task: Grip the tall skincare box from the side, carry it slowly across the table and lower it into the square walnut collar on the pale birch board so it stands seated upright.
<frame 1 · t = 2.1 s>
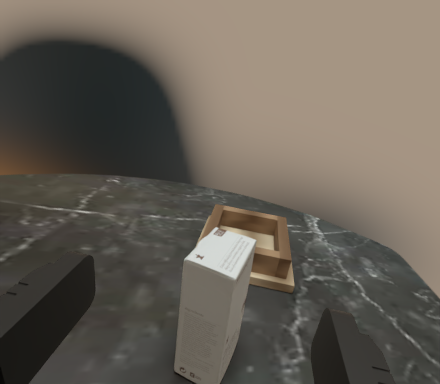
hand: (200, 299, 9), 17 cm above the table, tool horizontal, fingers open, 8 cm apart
socket board: (243, 251, 43), on the table
skincare box: (206, 355, 27), on the table
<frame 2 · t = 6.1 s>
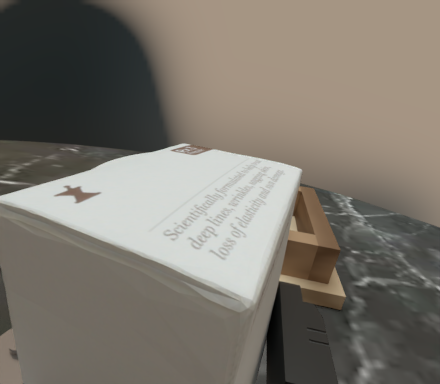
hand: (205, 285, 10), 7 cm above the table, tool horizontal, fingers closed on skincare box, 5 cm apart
socket board: (249, 239, 27), on the table
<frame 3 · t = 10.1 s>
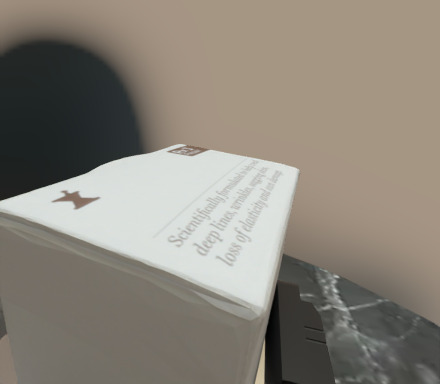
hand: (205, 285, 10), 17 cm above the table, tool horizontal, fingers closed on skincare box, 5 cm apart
when the fingers open (10 cm above the table, at t = 14.2 s): skincare box drops 1 cm, resting on socket board.
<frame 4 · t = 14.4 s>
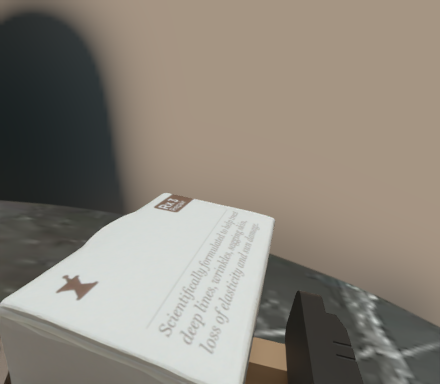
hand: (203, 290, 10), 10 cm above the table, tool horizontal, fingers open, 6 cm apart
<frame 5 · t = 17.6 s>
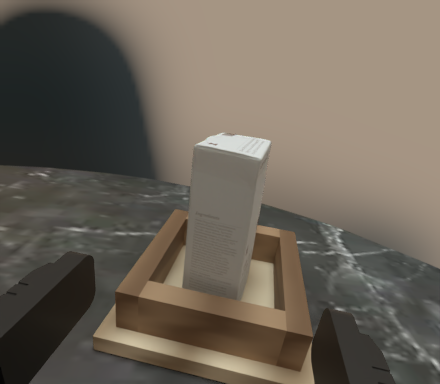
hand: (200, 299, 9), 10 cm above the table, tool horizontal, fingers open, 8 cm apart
socket board: (218, 296, 23), on the table
skincare box: (216, 287, 23), point 1 cm above the table, touching socket board
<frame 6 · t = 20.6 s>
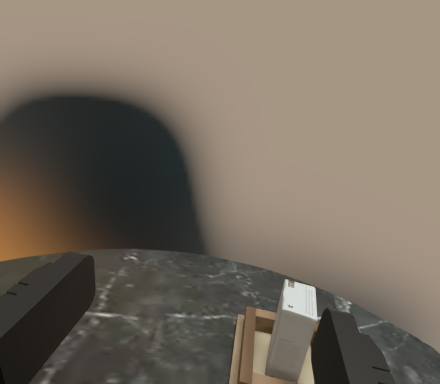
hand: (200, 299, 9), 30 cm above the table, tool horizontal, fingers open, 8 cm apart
socket board: (280, 369, 39), on the table
skincare box: (279, 364, 39), point 1 cm above the table, touching socket board
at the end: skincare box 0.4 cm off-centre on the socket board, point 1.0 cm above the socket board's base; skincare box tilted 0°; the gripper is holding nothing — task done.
